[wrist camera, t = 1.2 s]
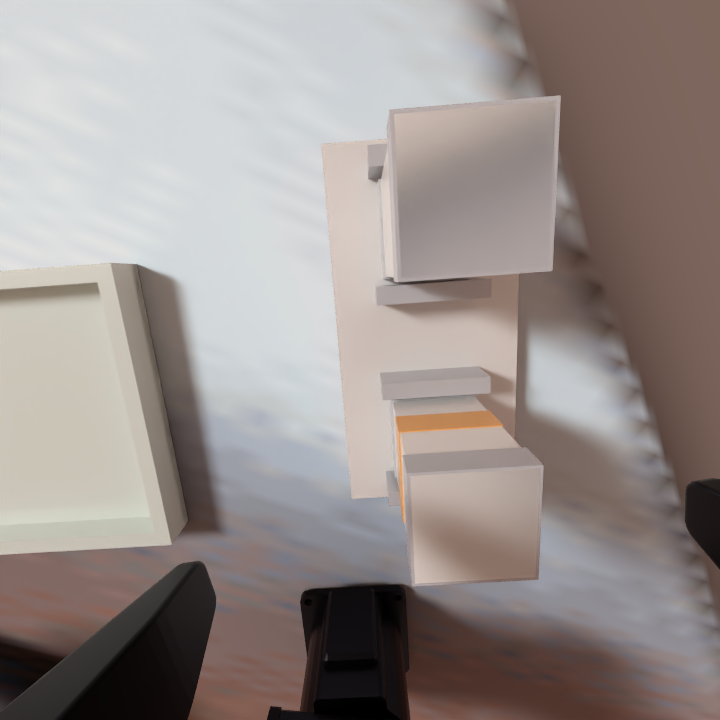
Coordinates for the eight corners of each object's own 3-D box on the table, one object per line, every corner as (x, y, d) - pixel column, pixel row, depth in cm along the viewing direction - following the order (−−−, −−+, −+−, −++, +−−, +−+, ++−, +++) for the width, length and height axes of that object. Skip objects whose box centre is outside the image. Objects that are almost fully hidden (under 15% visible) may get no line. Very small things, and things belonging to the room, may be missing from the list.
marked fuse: (469, 460, 20) (538, 579, 12) (392, 465, 20) (412, 586, 12) (469, 387, 19) (543, 465, 11) (388, 392, 19) (406, 473, 11)
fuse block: (506, 479, 21) (529, 511, 18) (352, 488, 22) (350, 522, 19) (513, 136, 17) (544, 107, 14) (323, 151, 18) (315, 126, 15)
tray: (188, 520, 22) (171, 544, 20) (-54, 535, 22) (-94, 560, 21) (136, 264, 19) (110, 263, 17) (-148, 285, 19) (-206, 286, 17)
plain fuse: (469, 272, 18) (552, 271, 10) (382, 278, 18) (397, 282, 10) (468, 178, 17) (560, 95, 9) (377, 185, 17) (389, 109, 9)
